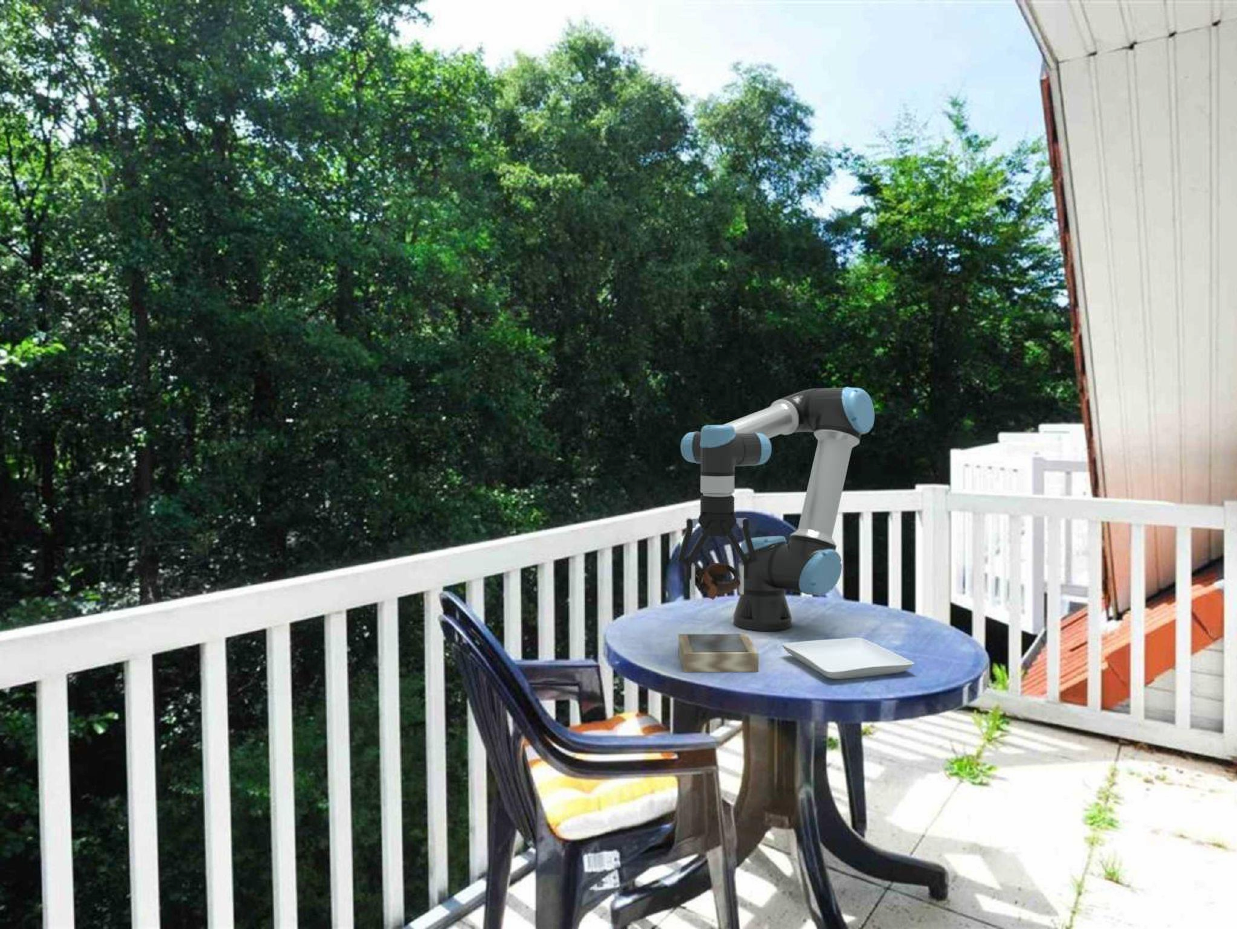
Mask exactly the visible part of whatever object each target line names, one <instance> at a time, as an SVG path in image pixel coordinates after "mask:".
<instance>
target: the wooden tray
mask: <svg viewBox="0 0 1237 929" xmlns="http://www.w3.org/2000/svg"><path fill="white" fill-rule="evenodd" d="M677 643H678V646H677V647H678V654H679V658H680V661H681V666H682V669H683V672H684V673H717V672H718V673H731V672H732V673H733V672H734V673H735V672H736V673H737V672H738V673H748V672H749V673H750V672H755V673H758V672H759V662H760V661H759V656H760V655H759V652H758V650H757V648H756V646H755V645H754V644H753V643H754V642H752V640H751V639H750V637H749V635H748V634H747V633H678V642H677Z"/></svg>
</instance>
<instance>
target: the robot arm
mask: <svg viewBox="0 0 1237 929" xmlns="http://www.w3.org/2000/svg"><path fill="white" fill-rule="evenodd" d="M874 423H875V409H874V404H873V400H872V399H871V396H870V395H869V393H868V392H866V390H864V389H862V388H859V387H849V386H846V387H832V388H831V387H830V388H829V387H827V388H826V387H825V388H810V389H805V390H802V391H801V390H800V391H798V392H795V393H792V394H790V395H787V396H784V397H782V398H779V399H777V400H775V401H773V402H772V403H771V405H769V407H766V408H764V409H762V410H759V411H756V412H753V413H750V414H748V415H746V416H743V417H740V418H738V419H735V420H732V421H730V422H727V423H724V424H710V425H709V424H706V425H704V426H702V428H701V430H700V431H694V432H693V431H692V432H687V433H686V434H685V435H684V436H683V438H681V442H680V453H681V456H682V457H683V459H684V460H685V461H687V462H689V463H696V464H697V465H699V464H700V490H699V491H700V493H701V494H702V495H701V496H700V500H699V501H700V504H699V506H700V507H699V509H700V510H699V511H700V512H699V517H698V518H690V517H688V518H686V520H685V521H686V522H685V523H686V525H685V526H686V528H685V532H684V535H683V538H682V542H681V543H680V544H681V545H680V547H679V552H678V555H677V560H678V562H680V563H682V564H684V565H685V577H686V579H687V580H690V579H691V580H690V587H689V588H690V589H689V590H690V594H691V595H694V596H695V595H696V585H695V567H696V565H695V563H693V562H694V561H695V558H696V557H697V555H698V554H699V552H700V550H701V548H702V547H703V545H704V544H705V542H706V541H707V539H708V538H709V537H712V538H713V537H722V538H723V537H727V538H728V540H729V542H730V544H731V545H732V547H733V549H734V550H735V552H736V553H737V555H738V557H739V563H738V579H739V582H740V586H739V585H738V594H739V598H738V600H737V603H736V607H735V610H734V612H733V624H734V625H735V626H736V627H738V628H741V629H745V630H751V631H758V632H774V631H776V632H777V631H782V630H783V631H784V630H786V629H789V628H790V627H792V626H793V625H792V624H793V623H792V622H793V619H792V617H793V616H792V614H791V611H790V607H789V604H788V601H787V598H786V591H793V592H797V593H803V594H805V595H807V596H808V595H809V596H810V595H811V596H812V595H813V596H824V595H826V594H828V593H830V591H832V590H833V589H834V588H835V586H836V585H837V584H838V582H839V580H840V577H841V575H842V569H843V565H842V563H841V562H842V557H841V555H840V553H839V552H838V551H837V544H836V542H835V541H834V539H833V534H834V530H835V526H836V525H835V524H836V520H837V516H838V512H839V508H840V504H841V498H842V493H843V490H844V484H845V481H846V476H847V472H848V466H849V463H850V462H849V461H850V457H851V453H852V450H853V448H854V447H856V446H858V445H860V441H861V437H862V435H865V434H867V433H869V432H870V431H871V430H872V428H873V427H874ZM804 432H805V433H806V432H807V433H808V432H809V433H813V435H814V437H815V438H816V440H817V446H816V450H815V453H814V454H815V455H814V458H813V463H812V467H811V471H810V474H809V475H810V477H809V481H808V484H807V490H806V493H805V497H804V501H803V505H802V506H803V507H802V511H801V514H800V518H799V519H800V520H799V523H798V527H797V529H796V531H794V532H792V533H791V534H789V535H790V536H789V540H788V543H787V540H786V537H785V536H782V535H773V536H768V535H767V536H760V537H758V536H757V537H751V534H750V531H749V519H748V518H746V517H742V518H741V517H740V518H739V517H736V516H735V496H734V495H733V494H734V493H735V467H746V466H747V467H748V466H753V467H756V466H759V465H763V464H765V463H766V462H768V460H769V459H770V457H771V454H772V443H771V440H770V439H771V438H773V437H776V436H778V435H784V436H786V435H787V436H788V435H791V434H793V433H804ZM697 525H700V527H701V528H702V531H701V532H700V534H699V536H698V538H697V540H696V542H695V543H694V545H693V547H692V548H691V550H690V552H689V554H688V555H687V557H686V553H687V551H688V548H689V545H690V541H691V537H692V534H693V531H694V530H693V529H695V528H696V527H697ZM735 525H737V526H738V527H739V528H740V529H741V533H742V537H743V541H742V542H741V544H739V542H738V541H737V539H736V537H735V535H734V533H733V532H732V530H733V528H734V526H735Z"/></svg>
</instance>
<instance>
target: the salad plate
mask: <svg viewBox="0 0 1237 929" xmlns="http://www.w3.org/2000/svg"><path fill="white" fill-rule="evenodd" d="M781 646H782V647H783V649H784V650H785V651H786V652H787V653H788V655H790V656H792V657H794V658H795V659H797V660H799V662H802V663H804V665H807V666H808V667H810V668H812V669H813V670H815V671H816V672H818V673H821V674H822V675H823V676H825V677H826V678H828V679H832V680H845V679H857V678H865V677H876V676H884V675H892V674H899V673H902V672H906V671H908V670H909V669H911V668H912V667H913V666H915V662H913V661H911V660H909V659H908V658H905V657H904V656H902V655H899V654H897V653H895V652H893V651H891V650H889V649H886V648H885V647H883V646H880V645H878V644H876V643H874V642H873V641H869V640H867V639H865V638H861V637H852V638H851V637H849V638H847V637H846V638H833V639H819V640H808V641H807V640H806V641H797V642H784V643H782V644H781Z"/></svg>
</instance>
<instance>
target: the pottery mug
mask: <svg viewBox="0 0 1237 929" xmlns="http://www.w3.org/2000/svg"><path fill="white" fill-rule="evenodd" d="M729 572H730V573H731V574H732V576H733V578H732V579H731V580H728V581H725V580H724V579H723V578H724V576H725V575H728V574H729ZM689 580H690V581H691V579H689ZM739 586H740V582H739V572H738V571H737V570H736V568H734V567H733V566H731V565H730V564H726V563H722V562H714V563H711V564H709V565H708V566H707V567H706V568H705V569H703V568H701V567H698V566H695V587H697V590H698V591H701V590H703V591H704V593H707V592H708V593H707V598H709V599H710V600H715V599H716V598H717V597H719V596H723V595H726V594H727V595H728V594H730V593H733V592H734V591H735V590H737V589H738V588H739Z"/></svg>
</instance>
